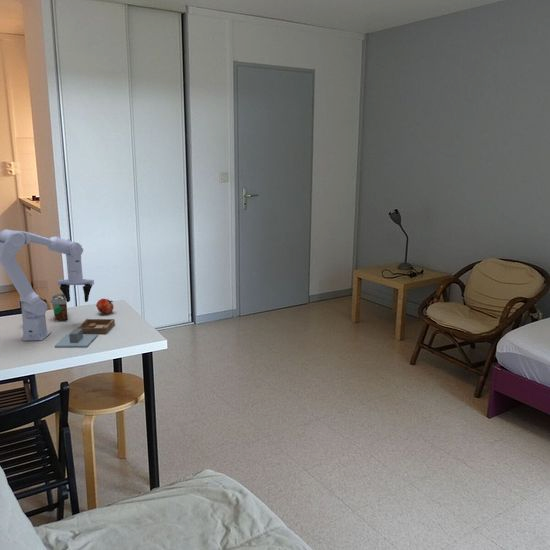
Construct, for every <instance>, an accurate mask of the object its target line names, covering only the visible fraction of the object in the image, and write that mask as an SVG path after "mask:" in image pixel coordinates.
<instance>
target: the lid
mask: <svg viewBox="0 0 550 550" xmlns="http://www.w3.org/2000/svg"><path fill="white" fill-rule="evenodd" d="M98 335H99V334H83V330H82V329H76V328H74V329H73V330H72V331H71V332H70V333H67V334H65V335H64V336H63V337H62V338H60V340H59V341H58V342H56V344H54V348H88V347H89V346H90V345H91V344H92V343H93V342H94V341H95V340H96V339H97V338H98V337H99V336H98Z"/></svg>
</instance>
